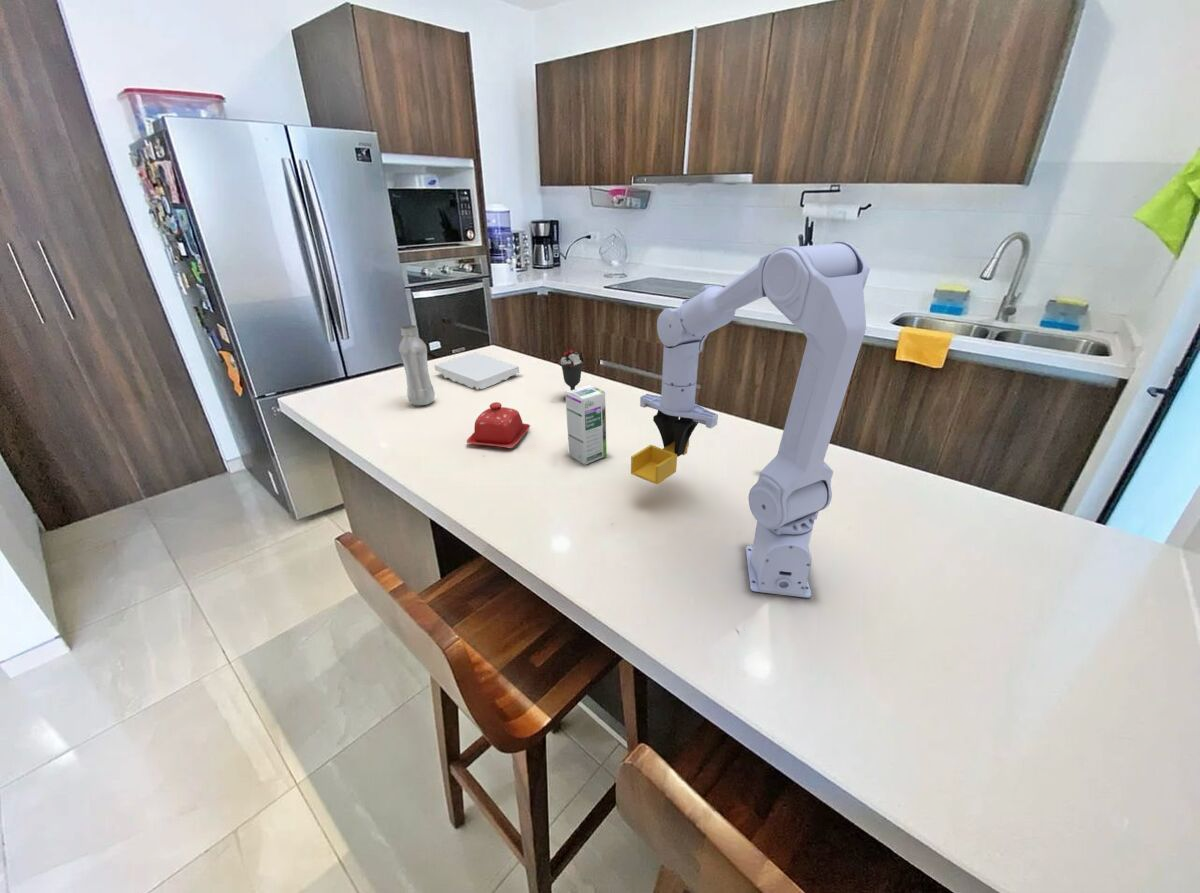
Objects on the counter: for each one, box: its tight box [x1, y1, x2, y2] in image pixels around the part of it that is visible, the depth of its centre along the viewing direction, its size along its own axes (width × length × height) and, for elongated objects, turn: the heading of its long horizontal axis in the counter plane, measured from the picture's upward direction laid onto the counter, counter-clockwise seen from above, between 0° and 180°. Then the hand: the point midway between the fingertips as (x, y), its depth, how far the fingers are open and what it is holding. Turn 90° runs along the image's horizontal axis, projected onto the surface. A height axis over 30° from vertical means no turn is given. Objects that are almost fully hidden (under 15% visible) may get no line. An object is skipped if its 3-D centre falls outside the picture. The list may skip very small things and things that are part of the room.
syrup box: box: [564, 384, 607, 466], centre depth 100 cm, size 6×6×14 cm
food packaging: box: [434, 351, 520, 391], centre depth 147 cm, size 15×3×20 cm
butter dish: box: [466, 401, 531, 448], centre depth 109 cm, size 12×12×8 cm
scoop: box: [630, 439, 690, 486], centre depth 87 cm, size 13×6×4 cm, turn 139°
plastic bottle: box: [398, 324, 436, 406], centre depth 125 cm, size 6×7×20 cm
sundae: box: [558, 344, 585, 402], centre depth 128 cm, size 7×7×15 cm
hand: (674, 452), depth 89 cm, fingers closed on scoop, 2 cm apart
